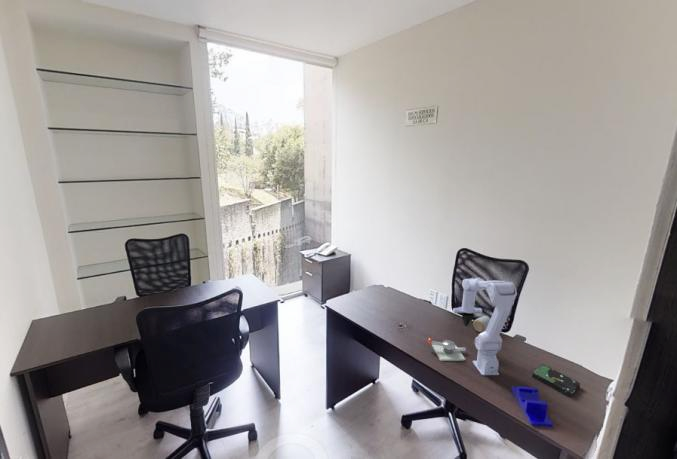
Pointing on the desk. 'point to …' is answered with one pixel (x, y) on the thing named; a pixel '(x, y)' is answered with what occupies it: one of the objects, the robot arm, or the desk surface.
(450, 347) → the key lever
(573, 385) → the disk drive
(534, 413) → the mounting bracket
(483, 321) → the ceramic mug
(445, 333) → the desk surface
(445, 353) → the base
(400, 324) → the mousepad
